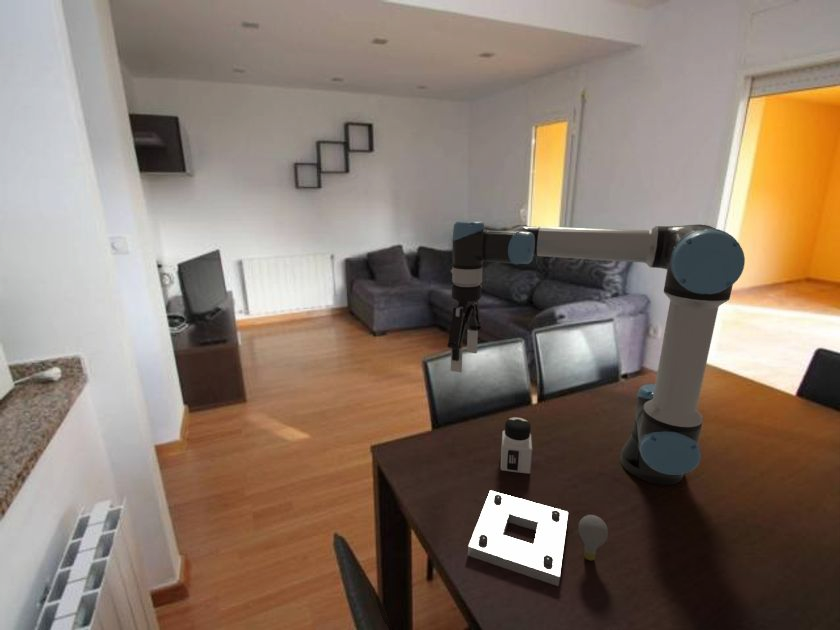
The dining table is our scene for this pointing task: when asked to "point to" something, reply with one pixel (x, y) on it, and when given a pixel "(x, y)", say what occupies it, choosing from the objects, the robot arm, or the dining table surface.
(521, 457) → the container
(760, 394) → the dining table surface
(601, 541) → the light bulb
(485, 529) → the flange
